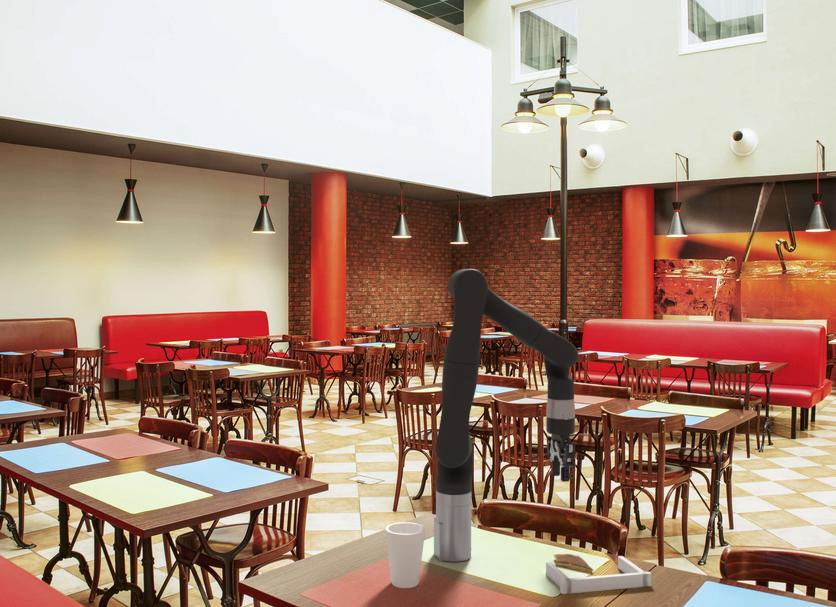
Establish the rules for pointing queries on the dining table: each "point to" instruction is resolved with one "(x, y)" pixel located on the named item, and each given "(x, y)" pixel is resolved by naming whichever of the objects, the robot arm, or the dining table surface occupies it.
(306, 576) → the dining table surface
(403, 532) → the foam cup
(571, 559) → the sandwich
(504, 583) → the dining table surface
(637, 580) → the box
